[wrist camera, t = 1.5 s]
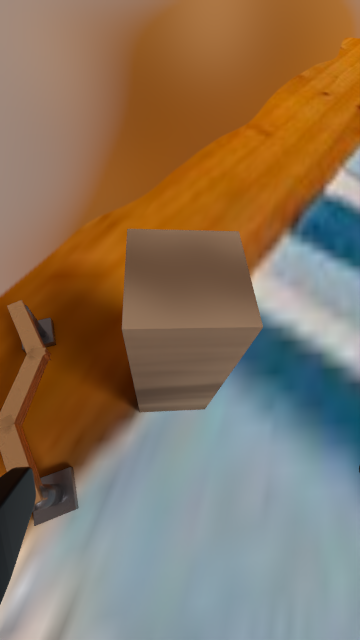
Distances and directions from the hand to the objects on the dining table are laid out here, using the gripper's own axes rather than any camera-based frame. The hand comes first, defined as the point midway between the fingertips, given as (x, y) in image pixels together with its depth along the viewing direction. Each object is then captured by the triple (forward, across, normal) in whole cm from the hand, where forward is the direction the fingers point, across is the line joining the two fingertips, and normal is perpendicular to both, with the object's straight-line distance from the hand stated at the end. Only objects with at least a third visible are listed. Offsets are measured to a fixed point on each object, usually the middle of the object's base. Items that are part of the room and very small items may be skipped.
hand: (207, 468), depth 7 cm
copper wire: (+13, +9, +6) cm, 17 cm away
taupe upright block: (+14, 0, +4) cm, 15 cm away
